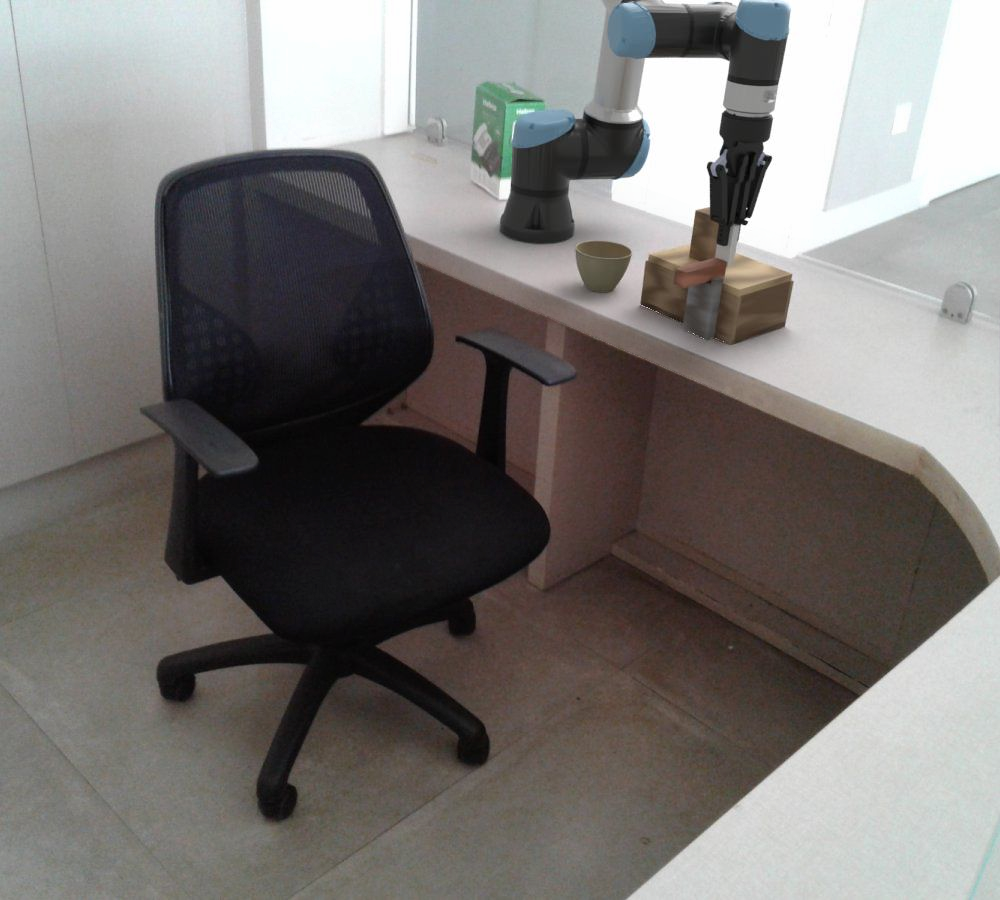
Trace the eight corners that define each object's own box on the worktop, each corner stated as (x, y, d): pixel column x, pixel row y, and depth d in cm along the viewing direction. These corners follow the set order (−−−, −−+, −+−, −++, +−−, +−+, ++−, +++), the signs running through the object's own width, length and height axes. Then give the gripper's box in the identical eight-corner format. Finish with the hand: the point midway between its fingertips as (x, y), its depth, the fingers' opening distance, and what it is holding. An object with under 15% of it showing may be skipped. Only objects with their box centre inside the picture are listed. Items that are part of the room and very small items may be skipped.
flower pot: (619, 301, 181) (624, 262, 178) (564, 291, 184) (568, 252, 180) (634, 283, 189) (638, 245, 186) (581, 274, 192) (584, 236, 189)
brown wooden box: (632, 307, 179) (639, 249, 174) (694, 289, 188) (702, 234, 183) (722, 347, 166) (733, 286, 161) (784, 326, 175) (796, 268, 170)
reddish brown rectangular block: (673, 283, 163) (675, 268, 161) (713, 272, 168) (715, 257, 167) (684, 288, 161) (686, 272, 160) (724, 276, 167) (727, 261, 165)
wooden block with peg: (648, 260, 176) (654, 207, 172) (701, 247, 184) (708, 195, 179) (738, 296, 163) (747, 239, 159) (791, 280, 171) (801, 225, 166)
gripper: (739, 121, 149) (715, 278, 161) (795, 112, 156) (768, 263, 168) (699, 110, 154) (678, 264, 166) (755, 102, 161) (731, 250, 173)
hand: (723, 263), depth 167 cm, fingers closed
